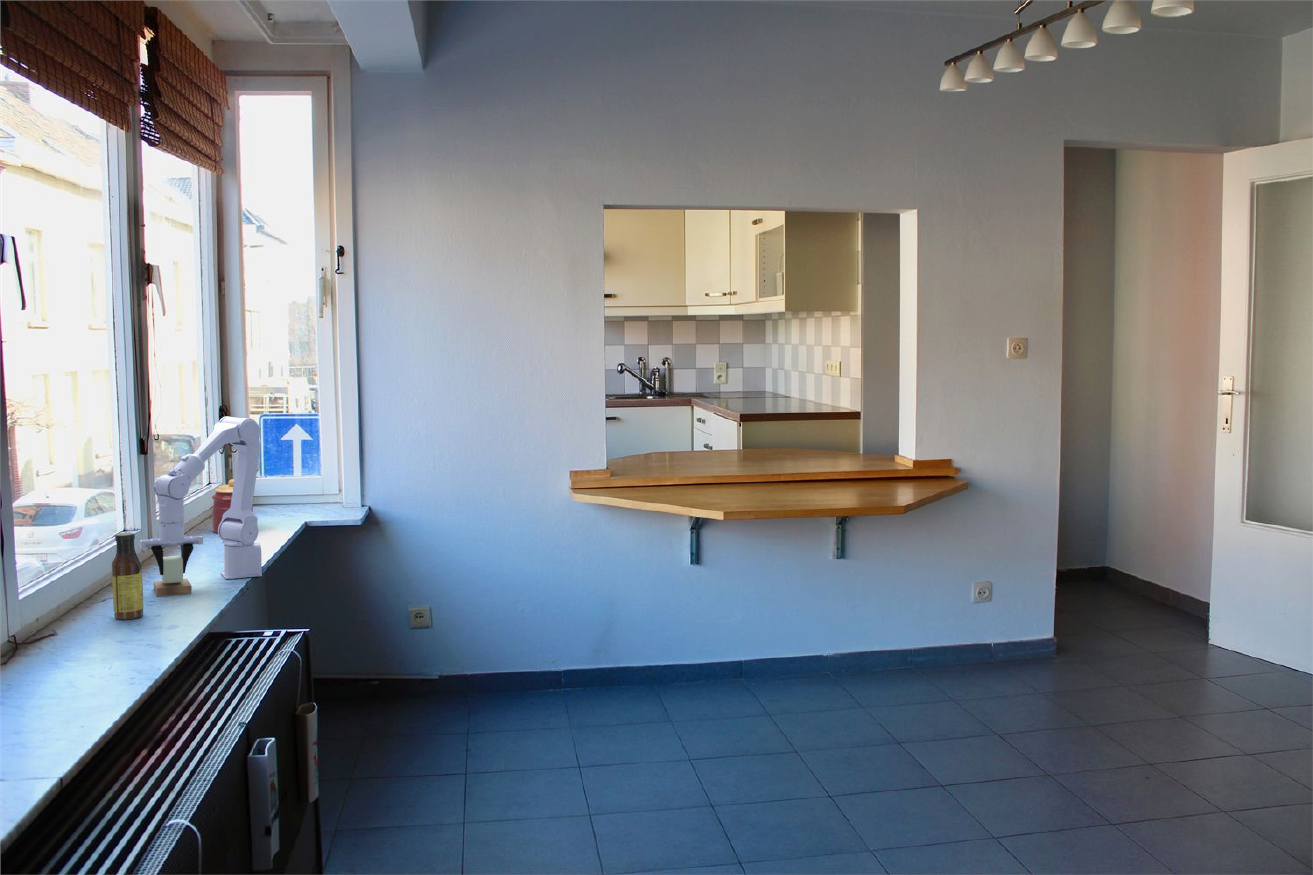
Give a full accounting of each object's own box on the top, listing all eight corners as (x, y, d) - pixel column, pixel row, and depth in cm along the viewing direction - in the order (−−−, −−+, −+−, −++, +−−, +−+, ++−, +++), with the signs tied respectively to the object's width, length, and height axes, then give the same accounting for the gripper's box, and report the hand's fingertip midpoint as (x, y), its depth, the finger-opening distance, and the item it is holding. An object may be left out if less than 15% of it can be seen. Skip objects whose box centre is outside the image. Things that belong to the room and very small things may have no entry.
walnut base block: (187, 588, 266) (187, 578, 266) (191, 594, 259) (191, 585, 259) (153, 591, 262) (153, 581, 261) (157, 598, 255) (157, 588, 255)
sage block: (180, 578, 264) (180, 555, 263) (183, 581, 260) (182, 558, 259) (161, 579, 261) (161, 557, 261) (163, 583, 257) (163, 560, 257)
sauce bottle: (149, 615, 238) (148, 532, 236) (128, 621, 232) (126, 537, 230) (128, 611, 240) (126, 530, 238) (106, 618, 234) (104, 534, 233)
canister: (243, 535, 334) (243, 482, 333) (205, 533, 334) (204, 481, 333) (259, 527, 347) (259, 477, 346) (222, 526, 347) (222, 476, 346)
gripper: (141, 526, 251) (142, 579, 253) (204, 522, 259) (205, 573, 261) (138, 521, 257) (139, 573, 259) (200, 517, 265) (200, 568, 266)
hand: (172, 573), depth 260 cm, fingers closed on sage block, 4 cm apart
